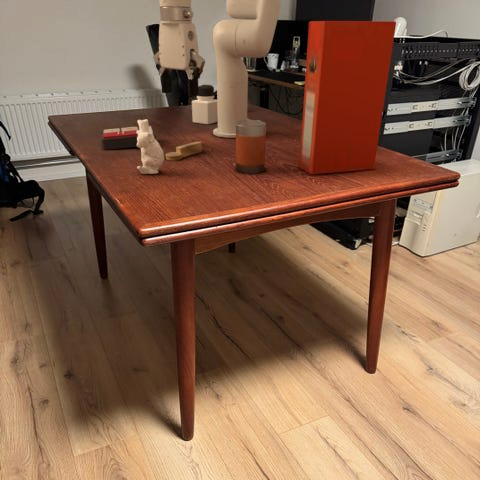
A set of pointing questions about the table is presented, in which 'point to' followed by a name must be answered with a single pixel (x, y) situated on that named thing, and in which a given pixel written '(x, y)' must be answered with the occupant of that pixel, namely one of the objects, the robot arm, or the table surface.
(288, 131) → the table surface
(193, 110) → the medicine bottle
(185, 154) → the wooden spoon
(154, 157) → the white squirrel figurine
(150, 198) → the table surface
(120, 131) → the calculator
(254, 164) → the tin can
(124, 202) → the table surface
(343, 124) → the file binder
